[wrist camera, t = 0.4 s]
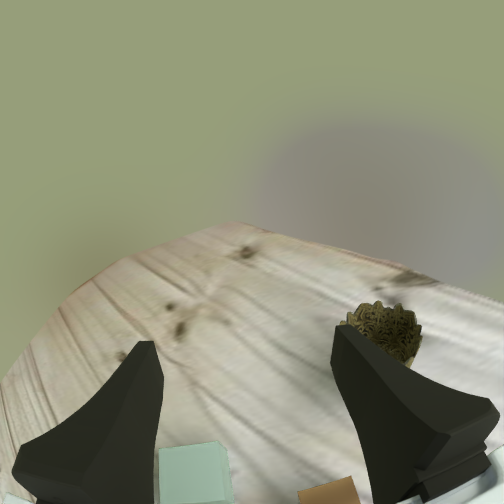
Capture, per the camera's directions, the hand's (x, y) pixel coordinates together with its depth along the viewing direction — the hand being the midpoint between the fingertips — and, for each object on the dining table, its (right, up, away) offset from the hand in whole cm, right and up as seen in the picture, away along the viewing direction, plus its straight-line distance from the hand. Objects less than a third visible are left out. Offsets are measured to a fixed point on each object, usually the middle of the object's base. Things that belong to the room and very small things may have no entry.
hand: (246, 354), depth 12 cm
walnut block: (+7, -18, +7) cm, 20 cm away
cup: (+13, -9, +17) cm, 23 cm away
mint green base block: (-5, -18, +12) cm, 22 cm away
